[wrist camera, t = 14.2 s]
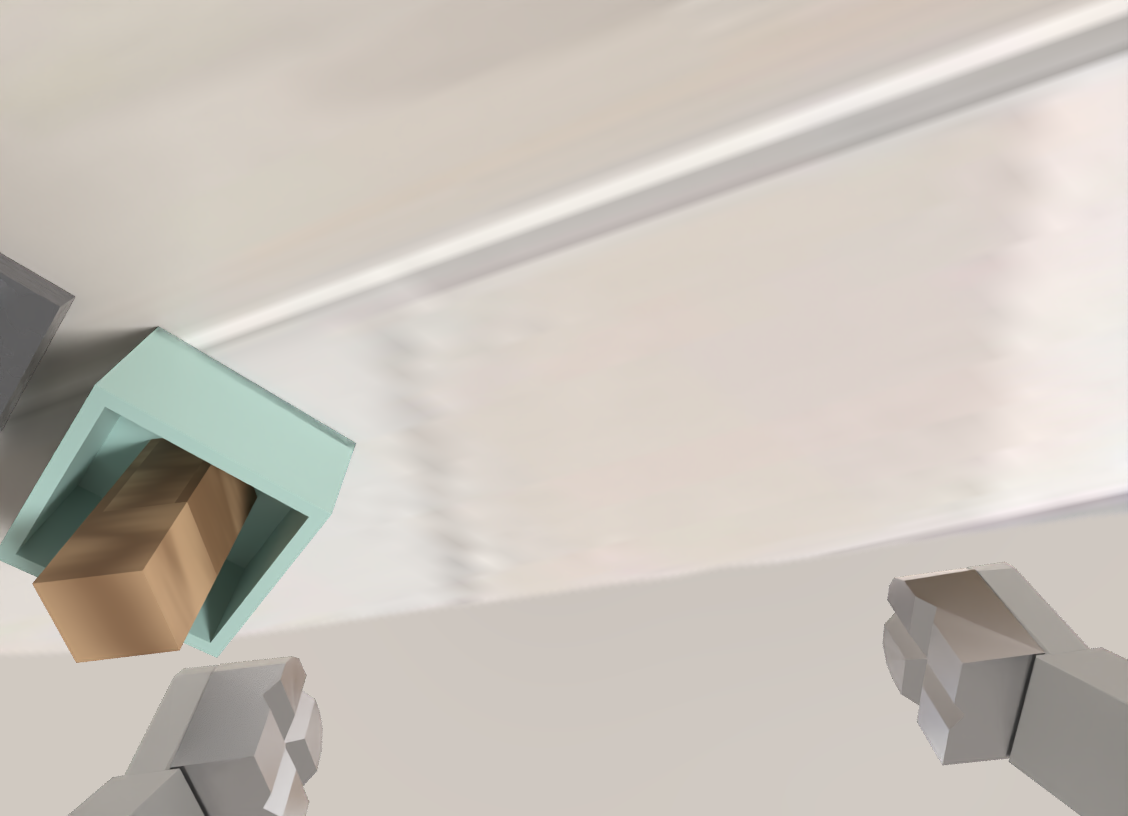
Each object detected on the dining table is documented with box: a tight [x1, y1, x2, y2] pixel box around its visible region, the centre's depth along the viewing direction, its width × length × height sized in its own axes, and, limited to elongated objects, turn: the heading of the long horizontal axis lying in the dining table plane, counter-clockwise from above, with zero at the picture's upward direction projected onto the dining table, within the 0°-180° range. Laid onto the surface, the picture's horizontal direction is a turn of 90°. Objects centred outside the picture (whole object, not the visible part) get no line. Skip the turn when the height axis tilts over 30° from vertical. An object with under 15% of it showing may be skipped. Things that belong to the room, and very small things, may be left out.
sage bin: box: [0, 326, 356, 657], centre depth 41 cm, size 12×12×7 cm
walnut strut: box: [33, 438, 257, 663], centre depth 38 cm, size 5×5×12 cm
